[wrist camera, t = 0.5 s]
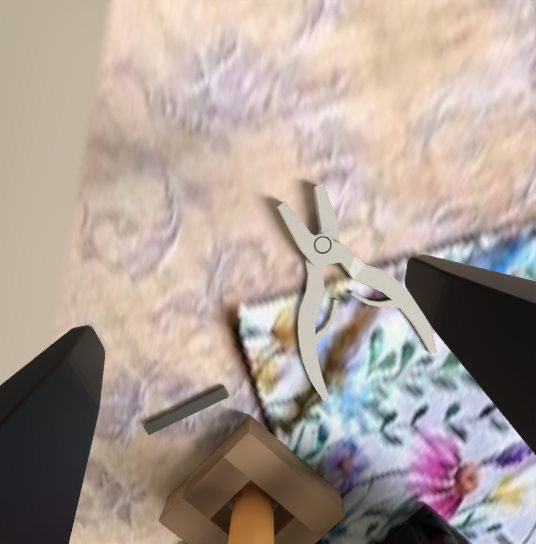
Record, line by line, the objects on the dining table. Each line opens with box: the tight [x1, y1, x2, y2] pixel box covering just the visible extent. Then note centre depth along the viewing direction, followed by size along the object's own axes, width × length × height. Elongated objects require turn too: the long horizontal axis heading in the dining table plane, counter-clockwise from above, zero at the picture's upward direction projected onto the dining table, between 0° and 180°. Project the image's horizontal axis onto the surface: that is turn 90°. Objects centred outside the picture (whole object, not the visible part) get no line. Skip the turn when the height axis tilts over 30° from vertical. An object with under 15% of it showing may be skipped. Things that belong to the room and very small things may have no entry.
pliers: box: [277, 185, 437, 401], centre depth 22 cm, size 10×2×15 cm
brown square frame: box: [159, 416, 346, 544], centre depth 24 cm, size 10×10×2 cm
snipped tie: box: [144, 386, 229, 435], centre depth 24 cm, size 7×1×1 cm, turn 117°
